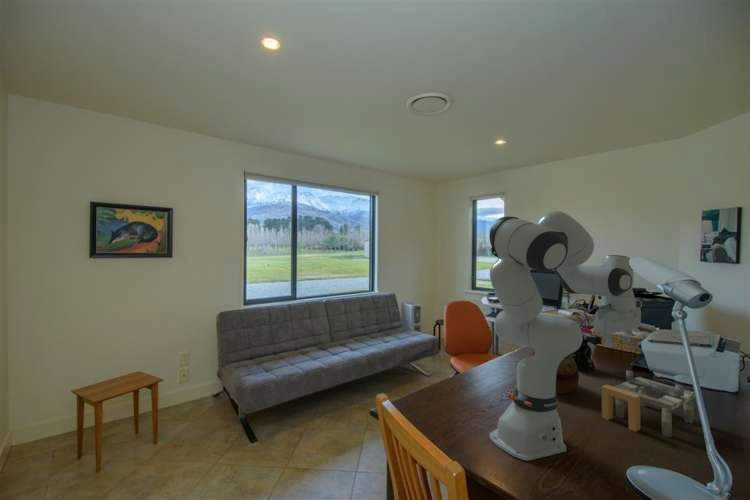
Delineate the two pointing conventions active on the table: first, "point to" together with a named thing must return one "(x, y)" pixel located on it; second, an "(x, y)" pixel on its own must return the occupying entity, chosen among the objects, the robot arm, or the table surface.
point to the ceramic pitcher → (566, 375)
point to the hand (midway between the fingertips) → (618, 343)
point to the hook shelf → (667, 403)
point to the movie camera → (586, 352)
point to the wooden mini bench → (625, 395)
